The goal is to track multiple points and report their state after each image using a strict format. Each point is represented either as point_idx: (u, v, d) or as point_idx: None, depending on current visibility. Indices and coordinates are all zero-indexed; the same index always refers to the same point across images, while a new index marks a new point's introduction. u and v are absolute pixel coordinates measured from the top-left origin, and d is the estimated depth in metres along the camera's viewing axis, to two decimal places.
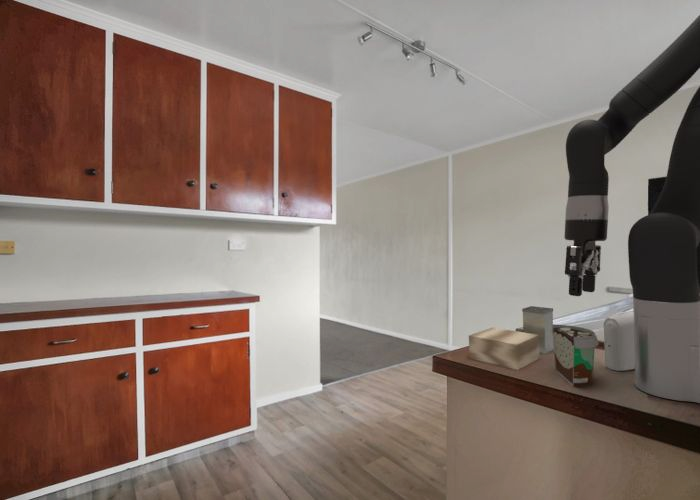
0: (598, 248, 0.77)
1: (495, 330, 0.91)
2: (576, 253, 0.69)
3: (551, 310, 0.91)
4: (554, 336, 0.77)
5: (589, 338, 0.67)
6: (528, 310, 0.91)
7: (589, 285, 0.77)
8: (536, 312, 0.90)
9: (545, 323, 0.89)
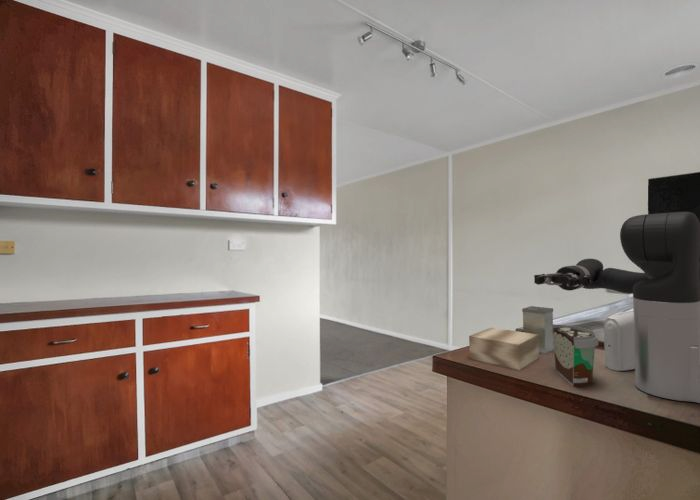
0: (545, 281, 1.10)
1: (494, 330, 0.91)
2: (590, 282, 1.00)
3: (551, 310, 0.91)
4: (554, 336, 0.77)
5: (589, 338, 0.67)
6: (528, 310, 0.91)
7: (540, 281, 1.03)
8: (536, 312, 0.90)
9: (545, 323, 0.89)
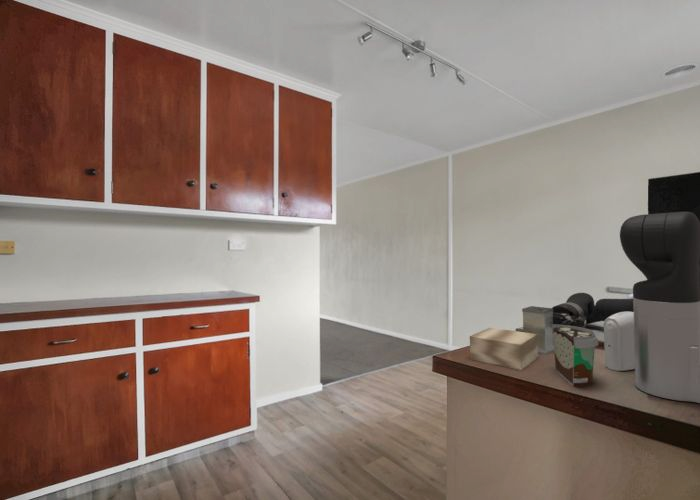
0: None
1: (493, 330, 0.91)
2: (585, 324, 0.97)
3: (551, 310, 0.91)
4: (554, 336, 0.77)
5: (589, 338, 0.67)
6: (528, 310, 0.91)
7: None
8: (536, 312, 0.90)
9: (545, 323, 0.89)
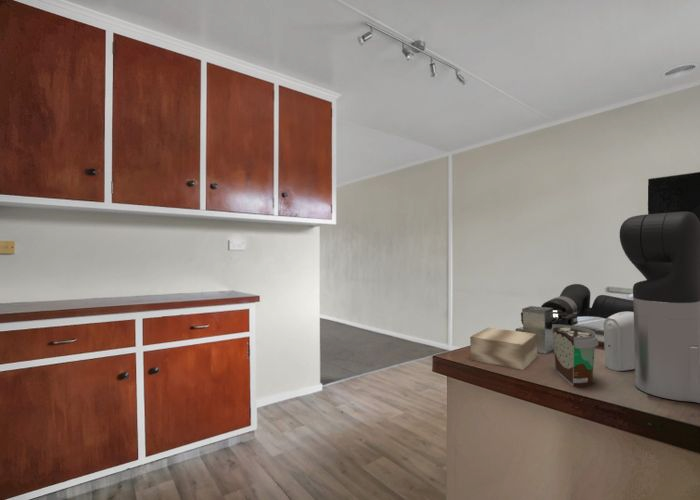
0: None
1: (492, 330, 0.91)
2: (575, 322, 0.92)
3: (551, 310, 0.91)
4: (554, 336, 0.77)
5: (589, 338, 0.67)
6: (528, 310, 0.91)
7: None
8: (536, 312, 0.90)
9: (545, 323, 0.89)
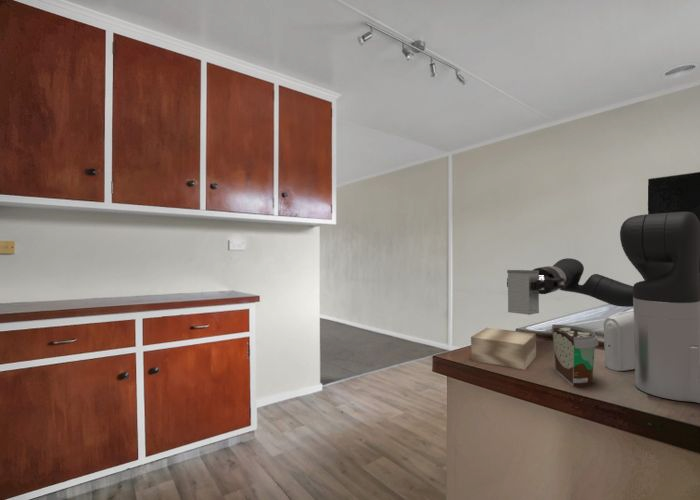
0: None
1: (492, 330, 0.91)
2: (561, 285, 0.90)
3: (537, 272, 0.89)
4: (554, 336, 0.77)
5: (589, 338, 0.67)
6: (513, 271, 0.89)
7: None
8: (521, 272, 0.88)
9: (530, 283, 0.87)
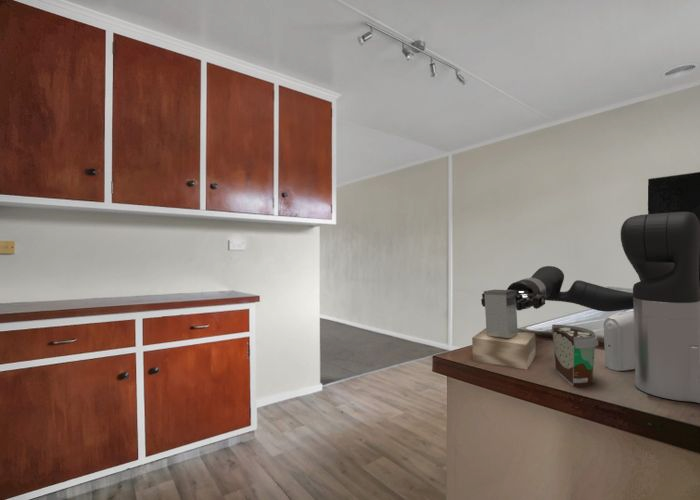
0: None
1: None
2: (543, 302, 0.86)
3: (514, 292, 0.85)
4: (554, 336, 0.77)
5: (589, 338, 0.67)
6: (490, 292, 0.85)
7: None
8: (498, 293, 0.84)
9: (507, 305, 0.83)
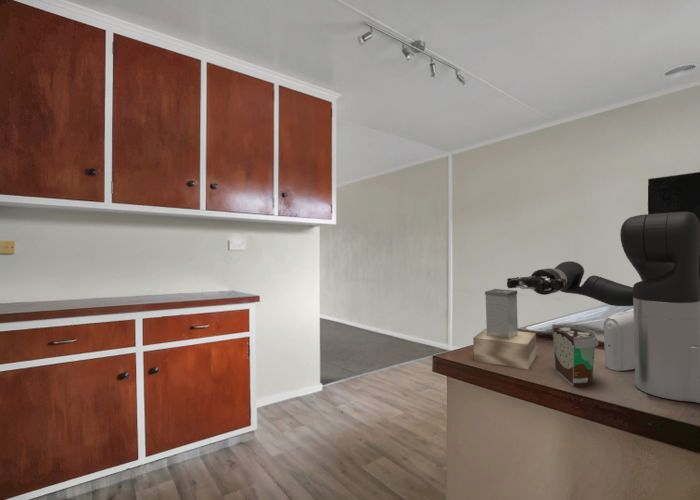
0: (519, 285, 1.05)
1: None
2: (564, 286, 0.95)
3: (515, 292, 0.85)
4: (554, 336, 0.77)
5: (589, 338, 0.67)
6: (491, 293, 0.85)
7: (512, 285, 0.98)
8: (499, 294, 0.84)
9: (508, 307, 0.83)
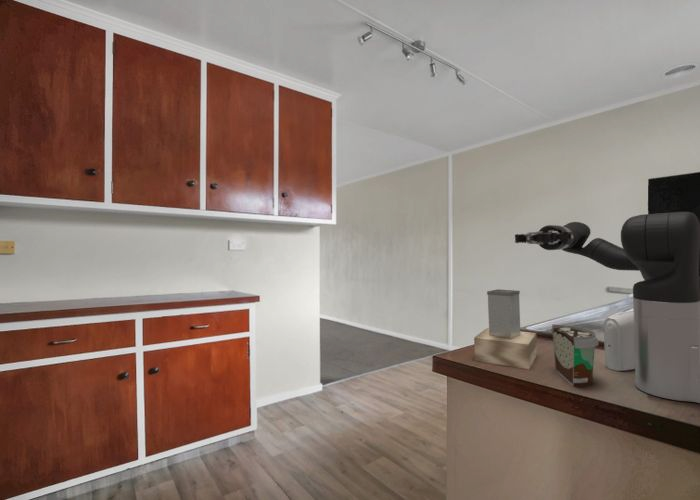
0: (526, 241, 1.06)
1: None
2: (572, 238, 0.96)
3: (517, 292, 0.85)
4: (554, 336, 0.77)
5: (589, 338, 0.67)
6: (493, 293, 0.85)
7: (520, 239, 1.00)
8: (501, 294, 0.84)
9: (511, 306, 0.83)
